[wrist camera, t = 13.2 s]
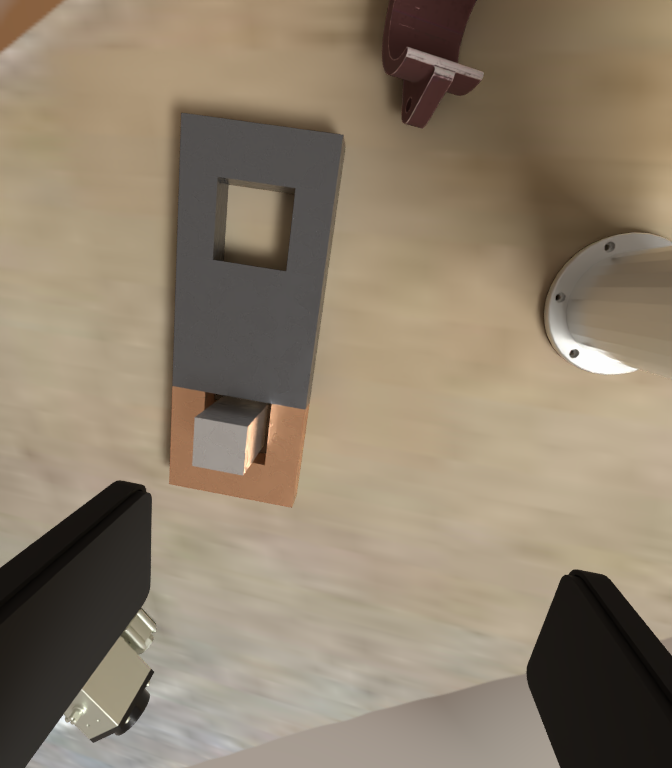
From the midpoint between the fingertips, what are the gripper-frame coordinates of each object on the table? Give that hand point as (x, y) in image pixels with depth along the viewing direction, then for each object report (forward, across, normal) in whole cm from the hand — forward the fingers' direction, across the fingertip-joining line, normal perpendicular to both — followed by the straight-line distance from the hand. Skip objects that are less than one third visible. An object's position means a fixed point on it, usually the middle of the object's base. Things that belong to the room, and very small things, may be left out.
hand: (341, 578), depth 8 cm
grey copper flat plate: (+30, +12, 0) cm, 33 cm away
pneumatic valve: (+30, +24, +42) cm, 57 cm away
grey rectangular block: (+30, +12, +10) cm, 34 cm away
